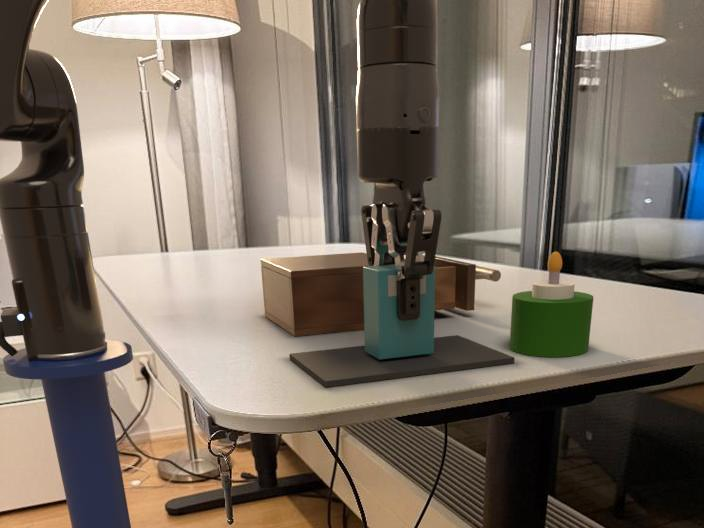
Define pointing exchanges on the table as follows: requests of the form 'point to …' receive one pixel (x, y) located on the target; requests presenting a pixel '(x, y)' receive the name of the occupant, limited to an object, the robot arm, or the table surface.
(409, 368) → the mat
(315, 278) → the cabinet
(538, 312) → the candle
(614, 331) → the table surface
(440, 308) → the drawer
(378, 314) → the teal labeled box
